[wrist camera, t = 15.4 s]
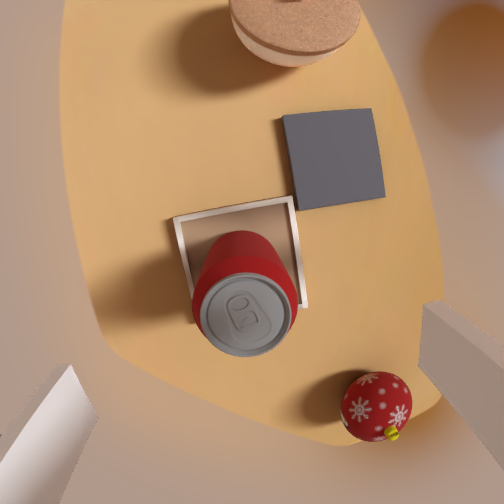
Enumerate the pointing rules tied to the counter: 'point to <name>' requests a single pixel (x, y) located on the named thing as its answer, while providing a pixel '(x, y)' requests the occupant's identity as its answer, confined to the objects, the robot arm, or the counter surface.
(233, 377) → the counter surface
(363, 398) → the christmas ornament
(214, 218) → the board
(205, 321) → the beverage can
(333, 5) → the lidded jar
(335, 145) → the pad
